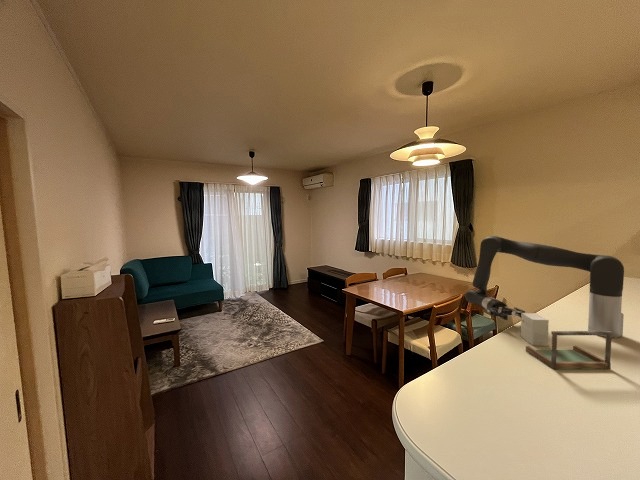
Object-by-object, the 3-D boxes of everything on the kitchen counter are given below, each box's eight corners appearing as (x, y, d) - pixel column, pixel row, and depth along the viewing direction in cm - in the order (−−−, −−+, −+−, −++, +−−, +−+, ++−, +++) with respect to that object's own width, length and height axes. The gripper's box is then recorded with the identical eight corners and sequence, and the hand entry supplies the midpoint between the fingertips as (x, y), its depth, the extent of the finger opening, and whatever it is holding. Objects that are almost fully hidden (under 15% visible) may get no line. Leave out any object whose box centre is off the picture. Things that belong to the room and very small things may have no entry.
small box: (548, 346, 100) (549, 320, 99) (532, 345, 101) (532, 319, 100) (535, 337, 107) (536, 313, 107) (520, 336, 108) (521, 312, 108)
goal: (575, 351, 96) (577, 318, 95) (611, 369, 83) (612, 332, 83) (525, 351, 96) (526, 318, 96) (553, 369, 84) (554, 332, 84)
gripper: (479, 299, 130) (500, 309, 114) (508, 298, 129) (533, 309, 113) (479, 313, 130) (500, 326, 114) (508, 313, 130) (533, 326, 113)
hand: (516, 317), depth 114 cm, fingers open, 8 cm apart
